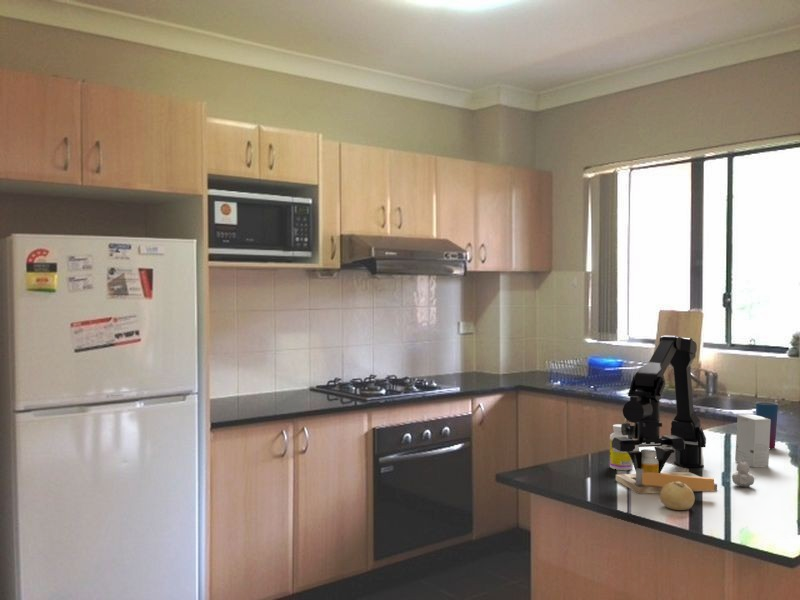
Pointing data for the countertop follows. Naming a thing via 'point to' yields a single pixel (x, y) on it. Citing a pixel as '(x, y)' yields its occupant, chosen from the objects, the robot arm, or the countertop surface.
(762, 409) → the cup
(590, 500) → the countertop surface
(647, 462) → the supplement bottle
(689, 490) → the onion
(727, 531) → the countertop surface
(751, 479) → the rubber duck
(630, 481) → the socket board
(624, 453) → the supplement bottle
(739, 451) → the skincare box
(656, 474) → the clip bar
